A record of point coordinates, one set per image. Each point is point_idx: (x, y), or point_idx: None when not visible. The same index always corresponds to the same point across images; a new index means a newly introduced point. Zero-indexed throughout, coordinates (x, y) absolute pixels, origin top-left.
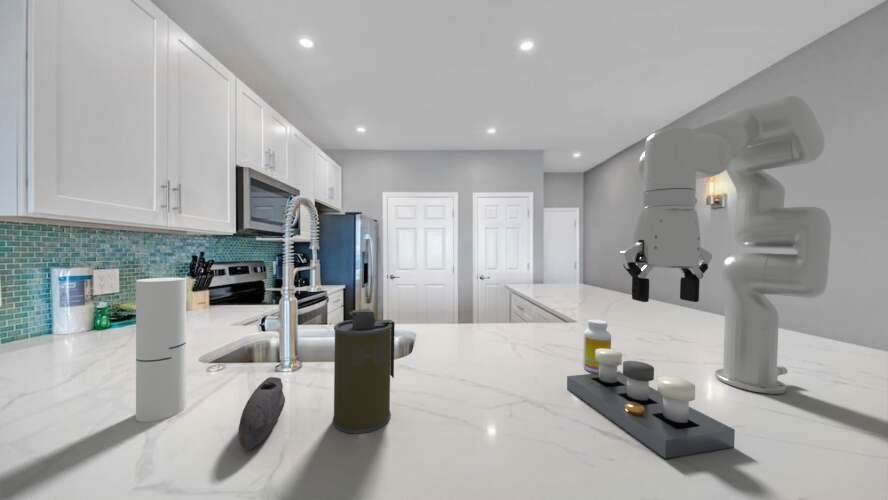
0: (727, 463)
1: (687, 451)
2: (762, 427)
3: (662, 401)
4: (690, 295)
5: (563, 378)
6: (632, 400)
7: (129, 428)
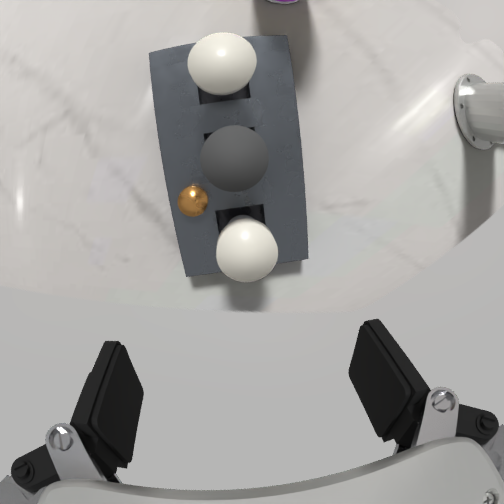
0: None
1: None
2: (385, 210)
3: (272, 169)
4: (358, 376)
5: (177, 15)
6: None
7: None
